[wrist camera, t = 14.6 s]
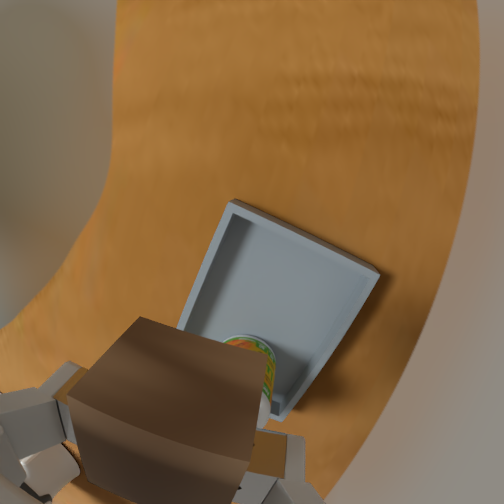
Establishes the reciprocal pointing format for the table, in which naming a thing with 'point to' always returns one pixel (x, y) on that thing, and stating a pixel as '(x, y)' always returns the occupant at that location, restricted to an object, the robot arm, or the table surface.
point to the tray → (277, 295)
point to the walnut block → (168, 416)
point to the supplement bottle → (267, 391)
